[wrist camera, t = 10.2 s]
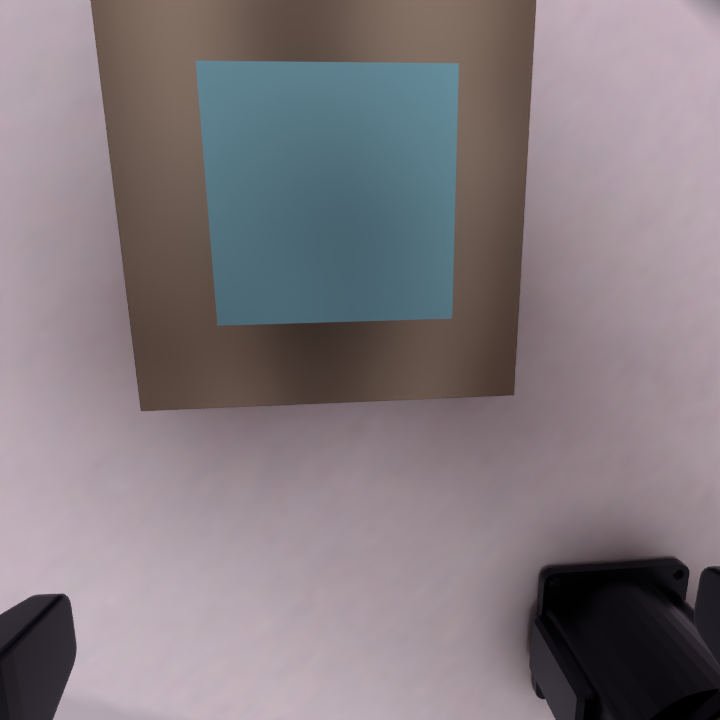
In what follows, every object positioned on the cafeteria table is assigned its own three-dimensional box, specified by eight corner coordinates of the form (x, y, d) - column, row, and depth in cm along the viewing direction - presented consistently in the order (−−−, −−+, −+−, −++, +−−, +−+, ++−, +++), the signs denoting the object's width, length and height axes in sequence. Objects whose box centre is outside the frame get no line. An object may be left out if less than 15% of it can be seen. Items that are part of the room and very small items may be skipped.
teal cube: (411, 118, 15) (458, 63, 10) (410, 293, 16) (452, 318, 11) (234, 118, 14) (195, 60, 10) (247, 297, 16) (217, 325, 11)
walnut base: (499, 23, 17) (537, -20, 14) (484, 372, 20) (513, 394, 17) (127, 17, 16) (86, -30, 13) (167, 384, 19) (141, 411, 16)
